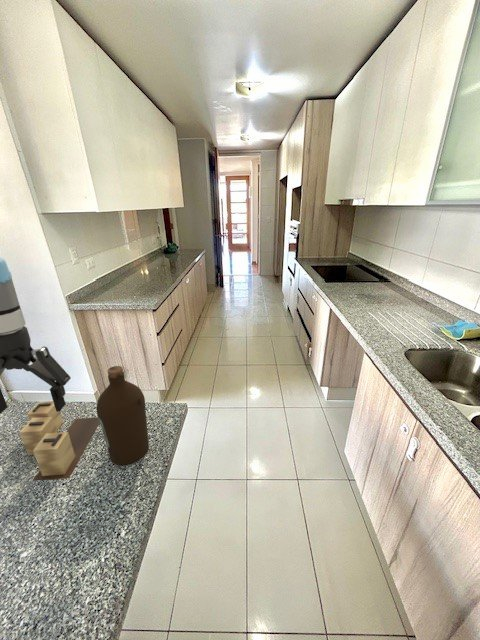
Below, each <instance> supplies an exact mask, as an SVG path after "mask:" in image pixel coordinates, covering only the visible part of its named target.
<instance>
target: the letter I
mask: <svg viewBox="0 0 480 640" xmlns="http://www.w3.org/2000/svg"><path fill="white" fill-rule="evenodd" d="M46 433H59V432H58V430H57V429H56V426H55V423H54V419H53V417H39V418H32V419H31V420H30V421H29V420H28V422H27V423H26V424H25V425H24V427H22V428H21V430H19V435H20V438H21V441H22V443H23V447H24V448H25V451H26V454H27V456H35V455H34V452H33V450H34V449H35V447H36V446H37V445H38V443H39V442H40V441H41V440H42V438H43V437H44V436H45V434H46Z"/></svg>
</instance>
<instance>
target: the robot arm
mask: <svg viewBox="0 0 480 640" xmlns="http://www.w3.org/2000/svg"><path fill="white" fill-rule="evenodd" d="M22 310H23V309H22V308H21V305H20V301H19V298H18V295H17V292H16V288H15V284H14V281H13V276H12V272H11V271H10V270H9V267H8V264H7V261H6V260H5V259H4V258H3V257H2V256H0V377H1V376H2V374H3V373H4V371H5V370H6V371H8V370H9V371H12V370H24V371H25V372H30V373H32V374H33V375H35V376H36V377H37V378H39V379H40V380H41V381H43V382H44V383H47V384H48V385H49V386H51V387H50V388H49V391H50V395H51V399H52V401H53V402H54V405H55V409H56V412H58V411H60V412H61V411H62V409H63V408H64V407H65V406H66V401H65V395H66V390H65V385H66V384H67V383H68V382H69V381H70V380H71V376H70V375H69V373H67V371H66V370H65V369H64V368H63V367H62V366H61V364H59V362H57V360H56V359H55V358H54V357H53V356H52V355H51V353H50V351H49V348H48V347H47V346H44V345H43V346H42V347H41V348H35V349H34V348H33V347H32V346H31V336H30V333H29V330H28V327H27V326H25V325H26V324H27V323H26V320H25V317H24V314H23V311H22ZM30 363H31V364H30ZM8 408H9V407H8V404H7V402H6V398H5V396H4V394H3V391H2V388H1V387H0V415H1V414H2V413H3V412H4V411H5V410H6V409H8Z"/></svg>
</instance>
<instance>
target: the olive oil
mask: <svg viewBox="0 0 480 640" xmlns="http://www.w3.org/2000/svg"><path fill="white" fill-rule="evenodd" d="M107 378H108V382H109V384H108V386H107V387H106V388H105V389H104V390H103V391H102V392H101V394H100V395H99V397H98V399H97V403H96V415H97V417H98V418H99V422H100V424H99V426H100V427H101V431H102V434H103V439H104V440H105V443H106V448H107V451H108V454H109V455H108V456H109V459H110V461H111V462H112V463H113V464H114V465H115V466H119V467H126V466H131V465H134V464H136V463H138V462H139V461H140V460H142V459H143V458H144V457H145V456H146V455H148V452H149V449H150V444H149V434H148V433H149V432H148V423H147V409H146V399H145V395H144V392H143V390H142V389H141V388H140V387H139V386H138V385H136V384H134V383H132V382H130V381H128V380H126V378H125V372H124V368H123V366H121V365H114V366H111V367H109V368H108V369H107Z"/></svg>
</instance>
